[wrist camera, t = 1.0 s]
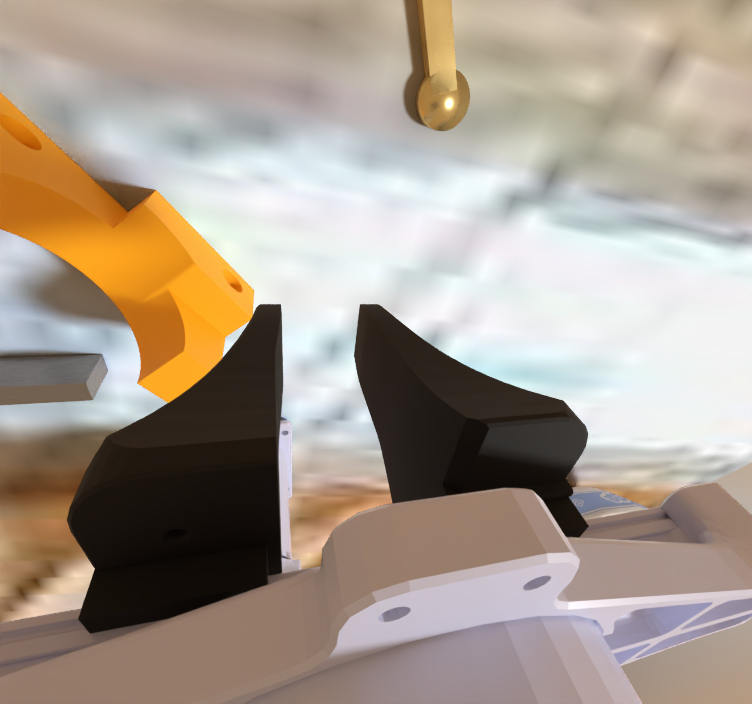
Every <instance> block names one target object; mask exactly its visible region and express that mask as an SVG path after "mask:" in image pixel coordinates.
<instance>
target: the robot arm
mask: <svg viewBox="0 0 752 704" xmlns="http://www.w3.org/2000/svg"><path fill="white" fill-rule="evenodd" d="M354 357H355V363H356V369H357V374H358V379H359V382H360V385H361V388H362V391H363V394H364V397H365V400H366V403H367V406H368V409H369V412H370V415H371V418H372V421H373V423H374V426H375V429H376V432H377V435H378V439H379V442H380V446H381V450H382V455H383V459H384V464H385V468H386V473H387V478H388V483H389V488H390V492H391V497H392V503H393V504H386V505H383V506H379V507H376V508H372V509H369V510H365V511H362V512H359V513H357V514H355V515H354V516H352V517H351V518H349V519H348V520H346V521H345V522H343V523H341V524H340V525H338V526H337V527H336V528H335V529H334V530H333V531H332V533H331V535H330V537H329V538H328V540H327V542H326V544H325V545H324V547H323V549H322V560H321V566H320V567H315V568H309V569H303V570H301V567H300V560H292V559H291V539H290V518H289V498H291V497H292V426H291V422H290V421H288V420H281V408H282V394H283V356H282V313H281V304H260V305H259V306H258V307H257V308H256V310H255V312H254V314H253V316H252V318H251V320H250V322H249V323H248V325H247V327H246V328H245V329H244V331H243V332H242V334H241V335H240V337H239V338H238V340H237V341H236V342H235V343H234V345H233V346H232V347H231V348H230V350H229V351H228V352H227V353H226V354H225V356H224V357H223V358H222V359H221V360H220V361H219V362H218V363H217V364H216V365H215V366H214V367H213V368H212V369H211V370H210V371H209V372H208V373H207V374H206V375H205V376H204V377H203V378H201V379H200V380H199V381H198V382H197V383H195V384H194V385H193V386H192V387H190V388H189V389H188V390H186V391H185V392H184V393H182V394H181V395H180V396H178V397H177V398H175V399H174V400H172V401H171V402H169V403H168V404H166V405H164V406H163V407H161V408H159V409H158V410H156V411H155V412H153V413H151V414H149V415H148V416H146V417H144V418H142V419H140V420H138V421H136V422H135V423H133V424H131V425H129V426H127V427H125V428H123V429H121V430H119V431H117V432H115V433H113V434H111V435H109V436H107V437H106V438H105V440H104V442H103V444H102V445H101V447H100V449H99V450H98V452H97V453H96V455H95V456H94V458H93V460H92V461H91V463H90V465H89V467H88V468H87V470H86V472H85V475H84V477H83V479H82V481H81V484H80V486H79V488H78V490H77V493H76V495H75V497H74V499H73V501H72V504H71V506H70V509H69V513H68V518H67V522H68V525H69V528H70V530H71V533H72V534H73V536H74V537H75V539H76V541H77V542H78V544H79V545H80V547H81V548H82V550H83V551H84V553H85V554H86V556H87V558H88V559H89V561H90V562H91V564H92V565H93V567H94V568H95V571H94V573H93V576H92V579H91V582H90V585H89V588H88V591H87V594H86V597H85V600H84V603H83V606H82V609H77V610H71V611H65V612H60V613H54V614H48V615H43V616H37V617H31V618H26V619H20V620H14V621H9V622H3V623H0V704H642V702H641V700H640V699H639V697H638V695H637V694H636V692H635V690H634V689H633V687H632V685H631V684H630V682H629V680H628V678H627V677H626V675H625V673H624V672H623V670H622V668H621V666H622V665H625V664H627V663H630V662H633V661H636V660H638V659H641V658H644V657H646V656H649V655H652V654H655V653H658V652H660V651H663V650H666V649H669V648H671V647H674V646H677V645H679V644H682V643H685V642H688V641H691V640H694V639H697V638H700V637H703V636H706V635H709V634H712V633H715V632H719V631H721V630H725V629H728V628H731V627H734V626H738V625H741V624H743V623H744V622H746V621H748V620H750V619H751V618H752V515H751V514H750V513H749V512H748V511H747V510H746V509H745V508H744V507H742V505H740V504H739V503H738V502H737V501H736V500H735V499H734V498H733V497H732V496H731V495H730V494H729V493H727V492H726V491H725V490H724V489H723V488H722V487H721V486H720V485H719V484H718V483H715V482H710V483H703V484H697V485H691V486H686V487H682V488H680V489H678V490H676V491H674V492H673V493H671V494H670V495H669V496H668V497H667V498H666V499H665V500H664V502H663V503H662V505H661V506H660V507H655V508H649V509H643V510H638V511H632V512H626V513H621V514H615V515H609V516H604V517H598V518H592V519H587V520H585V519H584V518H583V517H582V515H581V514H580V512H579V511H578V509H577V508H576V507H575V505H574V504H573V502H572V501H571V499H570V498H569V496H572V494H573V489H572V487H571V486H570V484H569V483H568V482H567V480H566V479H565V478H566V477H567V475H568V474H569V472H570V471H571V469H572V468H573V466H574V465H575V463H576V462H577V460H578V459H579V457H580V456H581V454H582V452H583V451H584V449H585V447H586V443H587V438H588V432H587V429H586V426H585V425H584V424H583V423H582V421H581V420H580V419H579V418H578V417H577V416H576V415H575V413H574V412H573V411H572V410H571V409H570V408H569V407H568V405H567V404H566V403H565V402H564V401H563V400H559V399H555V398H552V397H548V396H545V395H541V394H538V393H534V392H531V391H527V390H524V389H521V388H518V387H516V386H513V385H510V384H507V383H504V382H502V381H499V380H497V379H494V378H492V377H489V376H487V375H485V374H483V373H481V372H478V371H476V370H474V369H472V368H470V367H468V366H466V365H464V364H462V363H460V362H458V361H457V360H455V359H453V358H451V357H450V356H448V355H446V354H444V353H443V352H441V351H440V350H438V349H436V348H435V347H434V346H432V345H431V344H429V343H428V342H426V341H425V340H423V339H422V338H421V337H419V336H418V335H417V334H415V333H414V332H413V331H411V330H410V329H409V328H407V327H406V326H405V325H404V324H402V323H401V322H400V321H399V320H398V319H396V318H395V317H394V316H393V315H391V314H390V313H389V312H388V311H387V310H385V309H384V308H383V307H381V306H380V305H378V304H360V309H359V318H358V326H357V335H356V344H355V352H354ZM284 431H285V432H284Z"/></svg>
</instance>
